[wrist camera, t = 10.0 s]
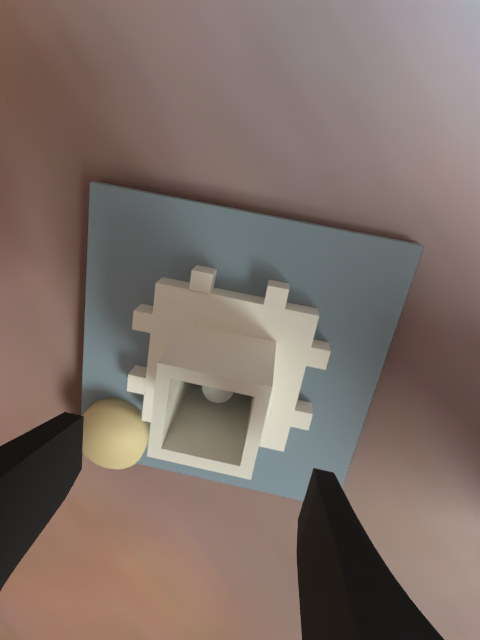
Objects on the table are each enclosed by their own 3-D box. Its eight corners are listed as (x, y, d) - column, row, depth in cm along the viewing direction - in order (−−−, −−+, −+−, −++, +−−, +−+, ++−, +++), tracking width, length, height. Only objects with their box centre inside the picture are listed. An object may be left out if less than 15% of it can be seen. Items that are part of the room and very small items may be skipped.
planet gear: (342, 294, 17) (361, 338, 13) (297, 456, 20) (299, 540, 16) (145, 254, 18) (94, 283, 13) (130, 419, 21) (84, 490, 16)
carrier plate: (417, 243, 17) (450, 261, 14) (333, 496, 22) (341, 557, 19) (98, 181, 18) (51, 183, 14) (86, 441, 23) (49, 489, 19)
